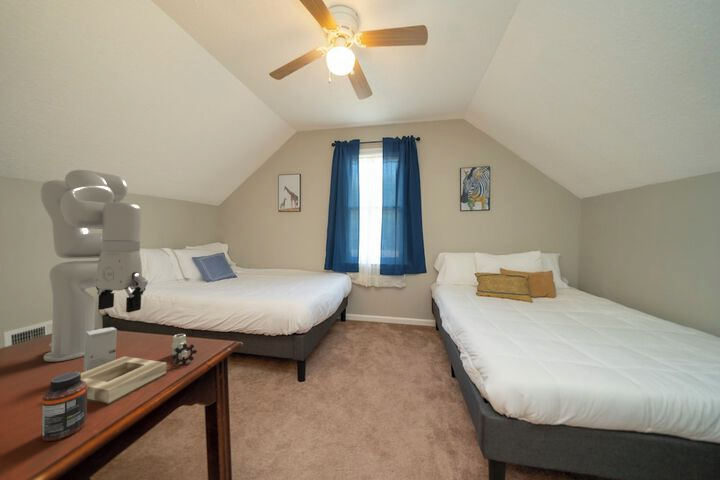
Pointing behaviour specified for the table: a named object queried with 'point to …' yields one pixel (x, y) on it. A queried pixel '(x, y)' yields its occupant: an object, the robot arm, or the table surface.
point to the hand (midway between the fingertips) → (119, 309)
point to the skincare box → (99, 347)
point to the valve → (181, 349)
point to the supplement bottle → (64, 406)
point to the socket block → (120, 378)
